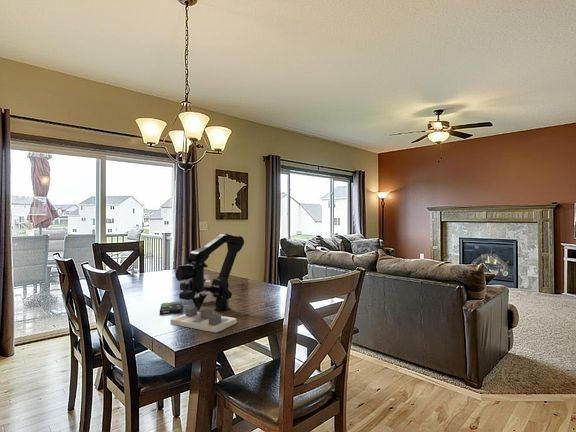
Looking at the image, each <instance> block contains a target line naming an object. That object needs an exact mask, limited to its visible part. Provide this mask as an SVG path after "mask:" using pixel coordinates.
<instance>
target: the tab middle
mask: <svg viewBox="0 0 576 432" xmlns="http://www.w3.org/2000/svg"><path fill="white" fill-rule="evenodd" d="M199 311H200V310H199ZM212 314H213V309H208V308H206V309H202V310H201V311H200V316H201V318H204V319H208V318H209V317H210V316H212Z"/></svg>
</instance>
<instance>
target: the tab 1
mask: <svg viewBox="0 0 576 432" xmlns="http://www.w3.org/2000/svg"><path fill="white" fill-rule="evenodd" d="M197 312H198V310H197V307H195V306H190V307H187V308H185V314H186V315H187V316H193V315H196V314H197Z"/></svg>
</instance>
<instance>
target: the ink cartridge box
mask: <svg viewBox="0 0 576 432" xmlns="http://www.w3.org/2000/svg"><path fill="white" fill-rule="evenodd" d="M210 276H211V275H210V274H204V279H206V281H205V282H204V286H206V285H209V286H211V284H212V281H211V280H210ZM205 294H206V295H207V296H206V298H205V299H204V301H203V303H202V304H204V303H212V293H211V292H210V291H207V292H205Z"/></svg>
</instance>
